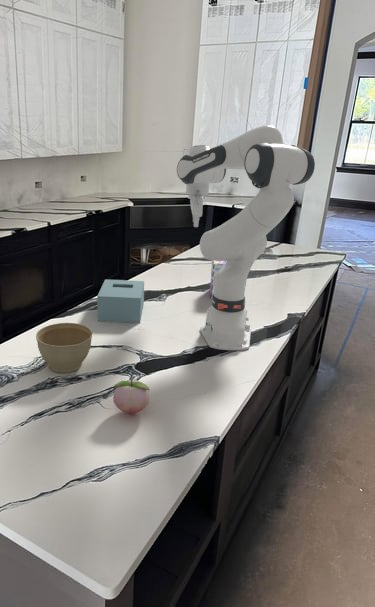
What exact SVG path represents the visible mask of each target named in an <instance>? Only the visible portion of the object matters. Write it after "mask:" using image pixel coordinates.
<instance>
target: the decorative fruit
mask: <svg viewBox="0 0 375 607" xmlns="http://www.w3.org/2000/svg"><path fill="white" fill-rule="evenodd" d="M113 388H115V390H114V393H113V396H112V397H113V403H114V405H115V406H116V408H117V409H118V410H120V411H121V412H122V413H126V414H137V413H139V412H141V411H143V410H144V409H145V408H147V406H148V405H149V402H150V392H149V391H151V389H150V388H149V386H148V385H147V384H146V383H144V382H142V381H140V380H136V379H132V378H131V379H128V380H121V381H118V382H116V383H115V384H114V385H113Z"/></svg>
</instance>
